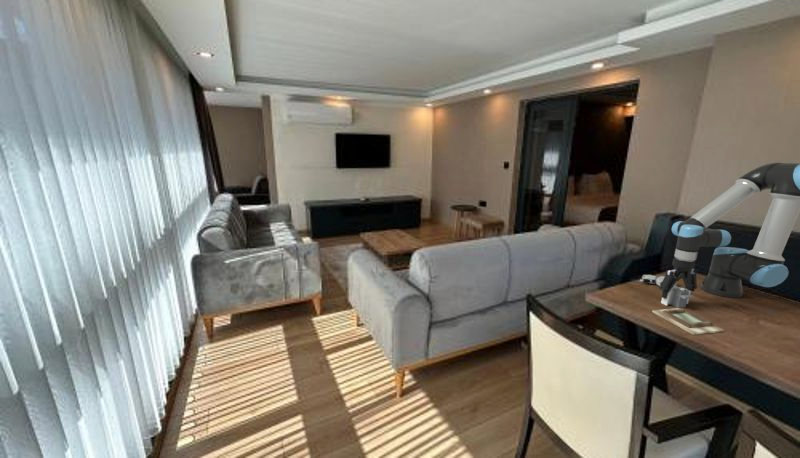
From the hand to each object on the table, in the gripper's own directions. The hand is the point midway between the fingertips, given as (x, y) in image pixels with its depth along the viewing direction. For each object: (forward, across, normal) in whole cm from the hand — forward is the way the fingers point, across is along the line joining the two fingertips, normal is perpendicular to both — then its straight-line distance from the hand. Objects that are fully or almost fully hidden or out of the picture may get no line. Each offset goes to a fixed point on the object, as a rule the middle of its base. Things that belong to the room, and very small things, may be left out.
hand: (674, 303), depth 149 cm
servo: (0, 0, 0) cm, 0 cm away
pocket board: (0, +10, +14) cm, 17 cm away
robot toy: (+1, -12, -20) cm, 23 cm away
